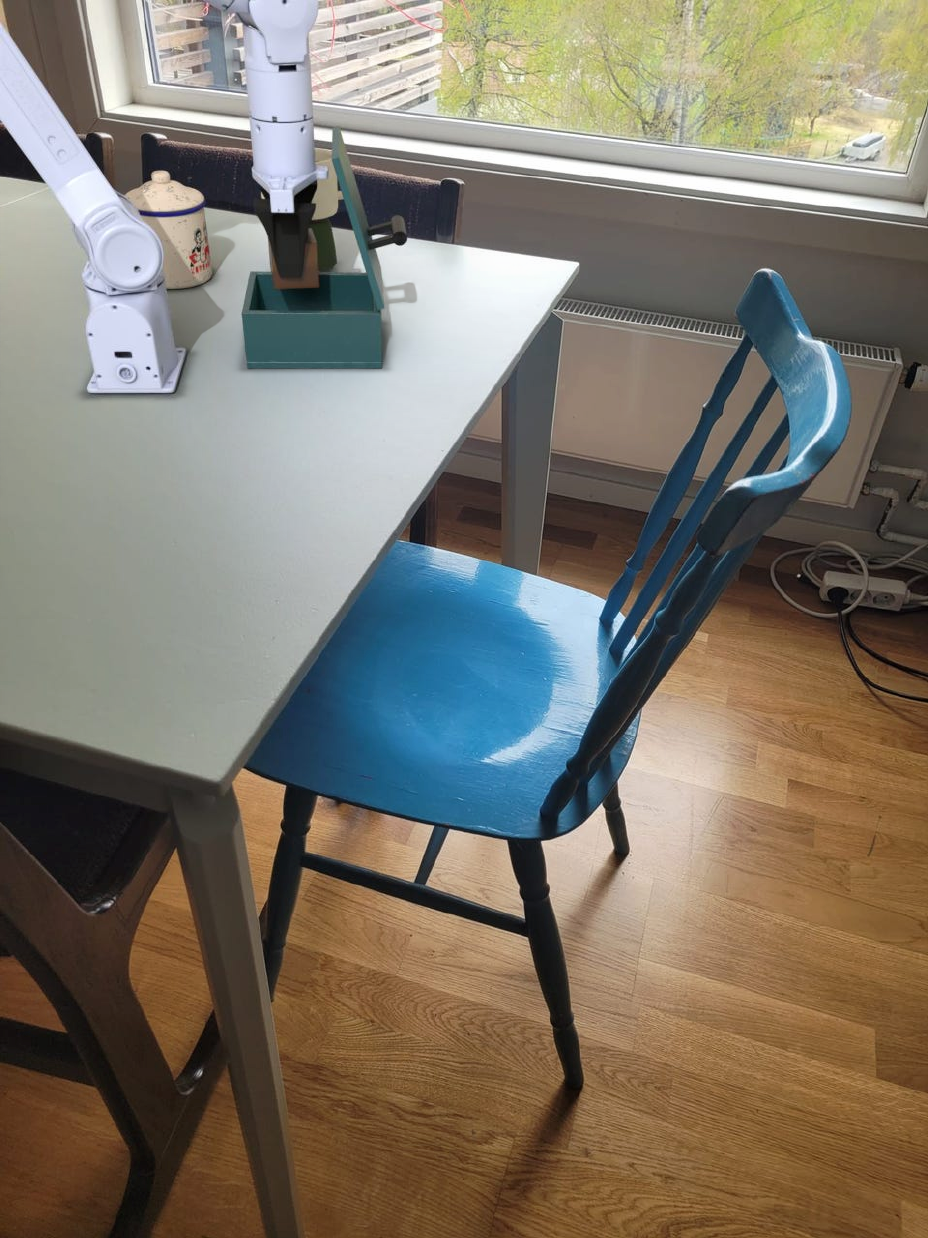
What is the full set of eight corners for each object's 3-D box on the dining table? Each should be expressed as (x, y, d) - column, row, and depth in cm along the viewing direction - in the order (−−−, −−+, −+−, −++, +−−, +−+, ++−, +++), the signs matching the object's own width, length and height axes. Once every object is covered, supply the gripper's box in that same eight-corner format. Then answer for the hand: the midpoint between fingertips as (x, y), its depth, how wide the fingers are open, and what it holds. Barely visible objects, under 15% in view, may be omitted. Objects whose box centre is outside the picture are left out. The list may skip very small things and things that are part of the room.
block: (319, 287, 95) (316, 242, 92) (274, 289, 94) (270, 243, 91) (314, 272, 98) (311, 227, 96) (270, 273, 97) (267, 229, 95)
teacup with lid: (210, 291, 111) (197, 184, 104) (129, 290, 110) (110, 182, 103) (220, 256, 120) (208, 155, 113) (145, 255, 119) (129, 154, 112)
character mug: (348, 255, 122) (345, 145, 114) (362, 275, 117) (359, 160, 109) (262, 261, 119) (252, 148, 111) (272, 281, 114) (263, 164, 106)
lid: (331, 158, 84) (380, 144, 84) (332, 127, 93) (376, 114, 93) (377, 310, 93) (422, 298, 93) (374, 269, 102) (415, 258, 102)
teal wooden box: (247, 368, 96) (241, 312, 92) (255, 323, 104) (250, 270, 101) (381, 368, 97) (381, 313, 93) (378, 324, 106) (378, 272, 102)
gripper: (324, 136, 82) (331, 294, 90) (327, 99, 93) (333, 243, 101) (240, 134, 81) (255, 293, 89) (252, 97, 92) (265, 242, 101)
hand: (291, 267), depth 95 cm, fingers closed on block, 5 cm apart
